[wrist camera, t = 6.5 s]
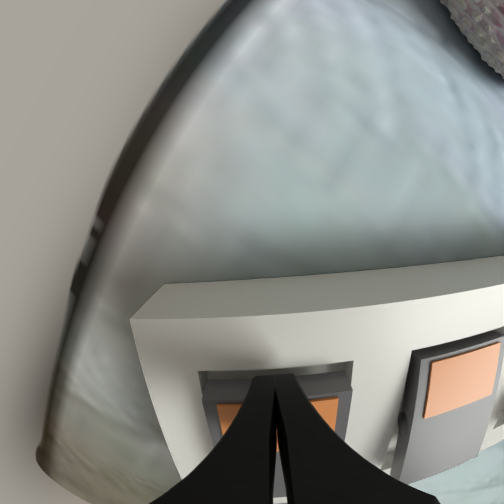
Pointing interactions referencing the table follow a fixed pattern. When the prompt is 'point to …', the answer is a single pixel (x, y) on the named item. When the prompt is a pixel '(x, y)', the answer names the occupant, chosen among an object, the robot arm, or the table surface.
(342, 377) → the rocker
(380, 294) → the rocker switch panel
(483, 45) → the sea urchin shell
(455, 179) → the table surface
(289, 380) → the robot arm
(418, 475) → the rocker middle
